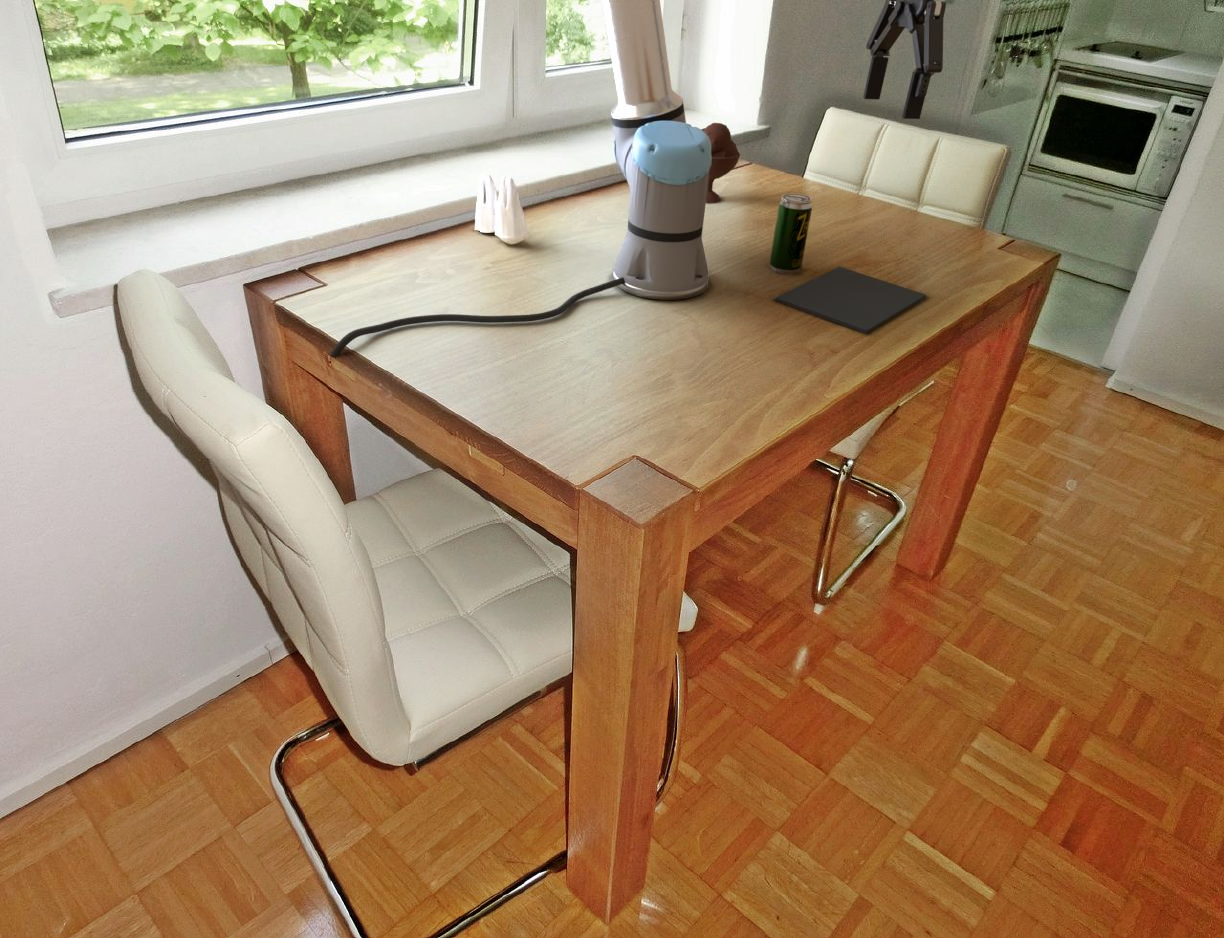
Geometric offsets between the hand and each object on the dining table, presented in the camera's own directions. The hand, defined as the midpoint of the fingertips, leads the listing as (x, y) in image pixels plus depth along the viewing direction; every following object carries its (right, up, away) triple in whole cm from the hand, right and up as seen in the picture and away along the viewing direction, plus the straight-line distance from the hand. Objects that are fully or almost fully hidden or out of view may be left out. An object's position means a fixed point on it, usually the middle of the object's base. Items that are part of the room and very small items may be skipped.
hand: (890, 108), depth 146 cm
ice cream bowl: (-26, -4, +36) cm, 44 cm away
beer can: (-16, -25, +5) cm, 30 cm away
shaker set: (-65, -19, +10) cm, 68 cm away
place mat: (-7, -32, -4) cm, 33 cm away
